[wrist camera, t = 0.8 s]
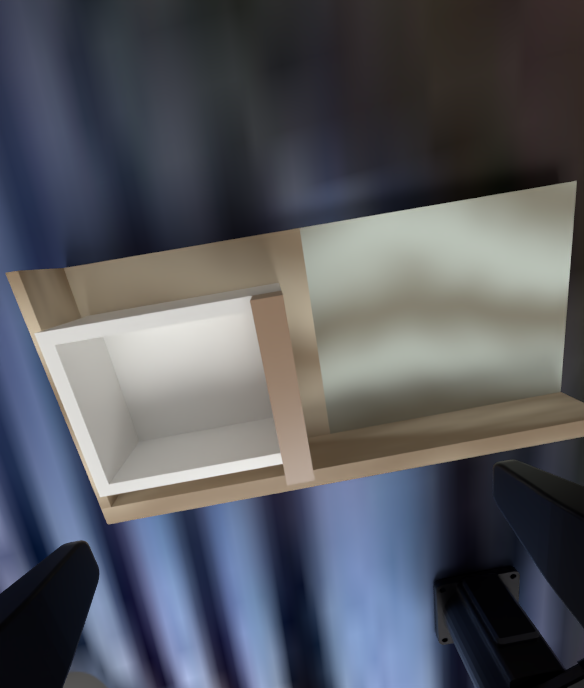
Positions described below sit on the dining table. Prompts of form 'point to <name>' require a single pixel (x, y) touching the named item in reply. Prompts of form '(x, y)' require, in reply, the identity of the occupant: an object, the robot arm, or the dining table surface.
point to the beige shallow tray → (372, 333)
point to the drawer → (182, 390)
